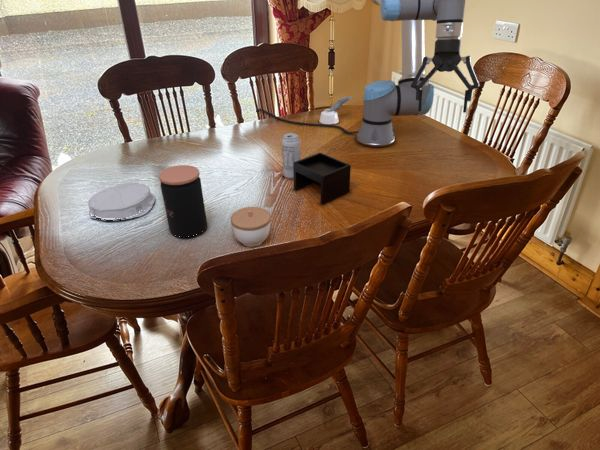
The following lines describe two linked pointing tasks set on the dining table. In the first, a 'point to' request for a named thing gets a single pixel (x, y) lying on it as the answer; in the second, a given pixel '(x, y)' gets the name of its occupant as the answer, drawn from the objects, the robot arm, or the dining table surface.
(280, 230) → the dining table surface
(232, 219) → the trinket box
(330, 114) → the inkwell
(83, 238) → the dining table surface
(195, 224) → the coffee jar
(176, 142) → the dining table surface
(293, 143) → the energy drink can
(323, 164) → the stand
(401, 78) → the robot arm
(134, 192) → the food container
